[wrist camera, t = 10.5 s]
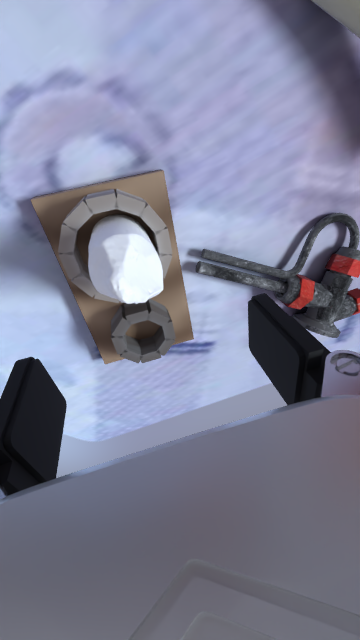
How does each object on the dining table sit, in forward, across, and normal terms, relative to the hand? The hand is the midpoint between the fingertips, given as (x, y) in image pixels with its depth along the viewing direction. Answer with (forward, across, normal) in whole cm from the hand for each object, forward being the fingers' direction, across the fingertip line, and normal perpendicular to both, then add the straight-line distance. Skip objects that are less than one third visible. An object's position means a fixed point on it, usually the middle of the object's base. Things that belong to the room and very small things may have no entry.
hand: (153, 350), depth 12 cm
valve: (+20, -20, +9) cm, 30 cm away
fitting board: (+20, +1, +5) cm, 20 cm away
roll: (+18, +1, +1) cm, 18 cm away
